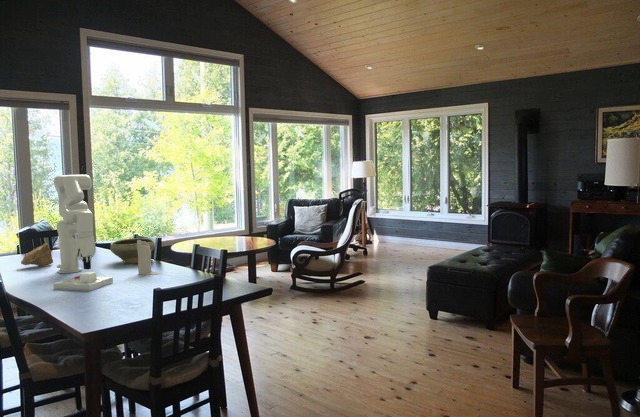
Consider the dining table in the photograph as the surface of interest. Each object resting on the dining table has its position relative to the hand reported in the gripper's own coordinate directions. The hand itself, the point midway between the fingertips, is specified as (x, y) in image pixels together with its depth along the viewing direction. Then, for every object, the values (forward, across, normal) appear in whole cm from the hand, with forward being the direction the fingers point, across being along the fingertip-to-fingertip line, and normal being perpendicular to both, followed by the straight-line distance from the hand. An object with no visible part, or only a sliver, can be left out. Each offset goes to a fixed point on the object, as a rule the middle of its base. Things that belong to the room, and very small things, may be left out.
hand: (87, 268), depth 264 cm
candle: (+10, -32, +16) cm, 37 cm away
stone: (+11, -38, -70) cm, 81 cm away
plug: (+9, 0, +1) cm, 9 cm away
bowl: (+11, -64, -17) cm, 67 cm away
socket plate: (+9, 0, -2) cm, 9 cm away
